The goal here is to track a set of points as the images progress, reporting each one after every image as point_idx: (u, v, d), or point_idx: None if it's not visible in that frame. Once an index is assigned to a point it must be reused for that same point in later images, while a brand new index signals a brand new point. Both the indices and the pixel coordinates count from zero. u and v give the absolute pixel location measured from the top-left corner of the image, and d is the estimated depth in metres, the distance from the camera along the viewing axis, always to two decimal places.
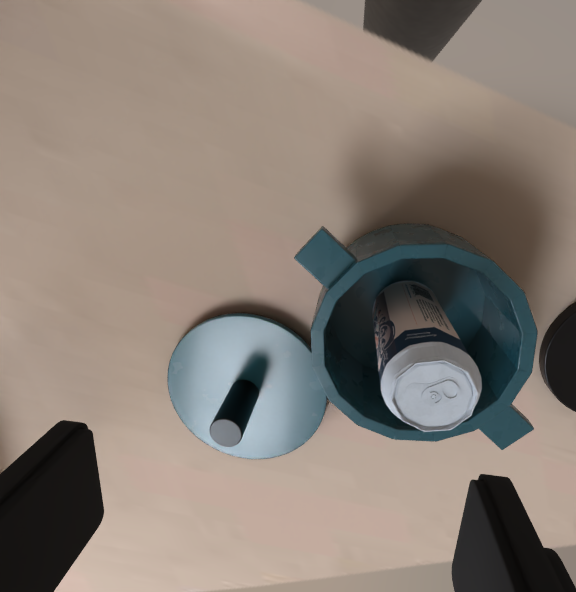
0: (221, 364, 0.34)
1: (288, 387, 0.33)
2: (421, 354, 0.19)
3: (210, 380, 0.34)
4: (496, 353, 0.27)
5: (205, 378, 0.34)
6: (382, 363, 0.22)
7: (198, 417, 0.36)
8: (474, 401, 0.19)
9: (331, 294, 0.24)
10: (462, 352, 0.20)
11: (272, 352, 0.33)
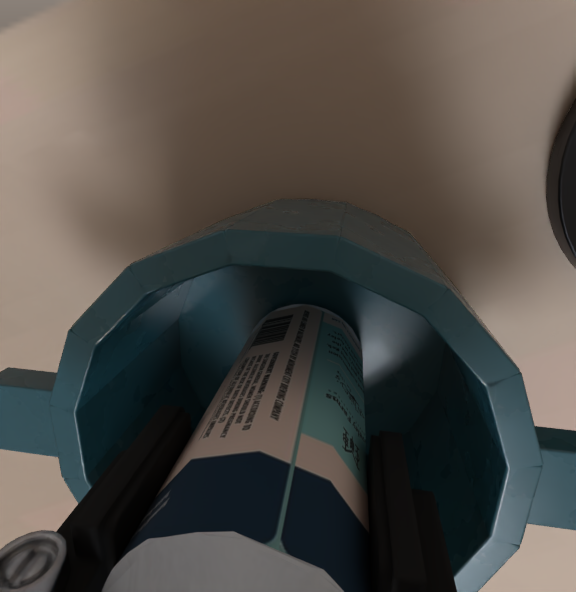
0: None
1: None
2: None
3: None
4: None
5: None
6: None
7: None
8: None
9: (70, 474, 0.12)
10: (205, 539, 0.06)
11: None
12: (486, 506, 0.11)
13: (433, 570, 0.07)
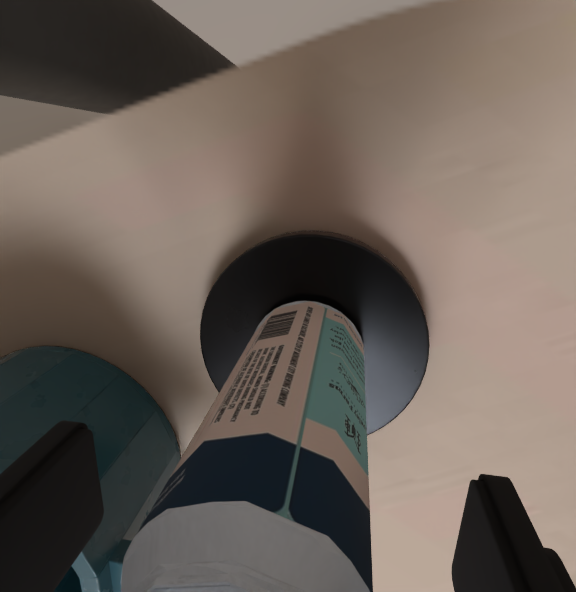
0: None
1: None
2: (130, 578, 0.07)
3: None
4: None
5: None
6: None
7: None
8: None
9: None
10: (219, 508, 0.07)
11: None
12: None
13: None
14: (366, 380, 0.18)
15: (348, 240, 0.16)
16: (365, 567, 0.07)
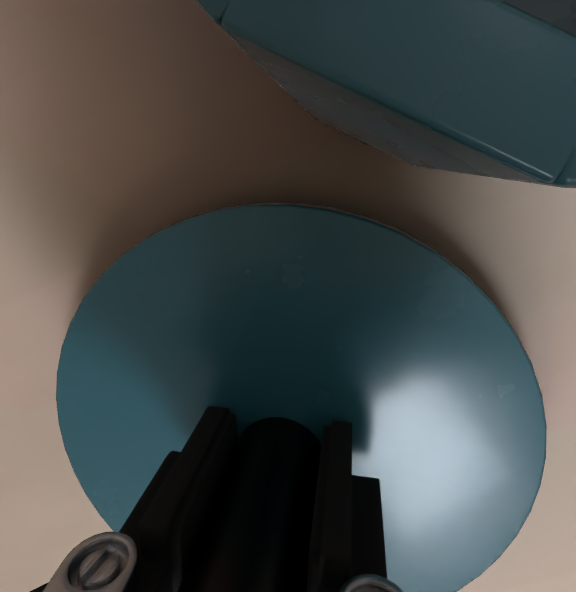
0: (176, 425, 0.12)
1: (371, 364, 0.10)
2: None
3: None
4: None
5: None
6: None
7: None
8: None
9: None
10: None
11: (255, 301, 0.10)
12: None
13: (367, 550, 0.08)
14: None
15: None
16: None
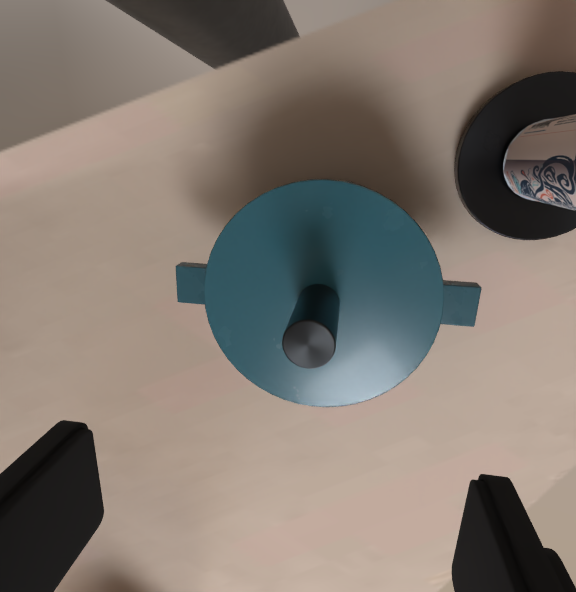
0: (266, 291, 0.24)
1: (363, 254, 0.22)
2: None
3: (271, 321, 0.24)
4: None
5: (264, 323, 0.24)
6: None
7: (294, 380, 0.25)
8: None
9: None
10: None
11: (309, 225, 0.22)
12: None
13: None
14: None
15: None
16: None
